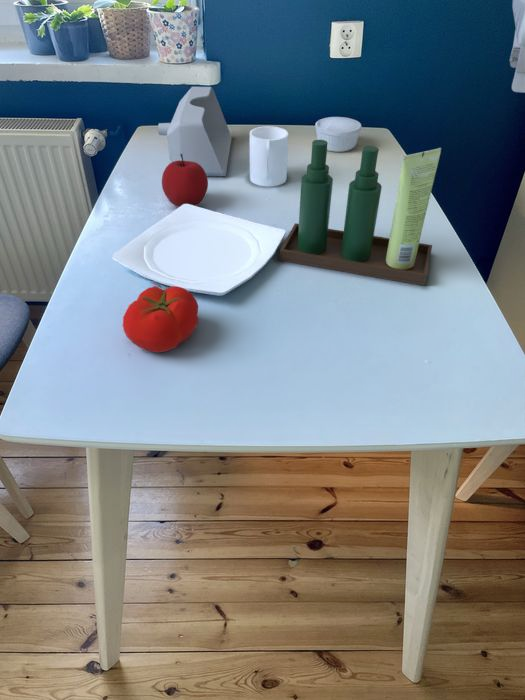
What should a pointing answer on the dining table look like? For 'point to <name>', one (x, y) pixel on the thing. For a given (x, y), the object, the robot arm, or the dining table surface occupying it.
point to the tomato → (161, 318)
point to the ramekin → (338, 133)
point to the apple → (184, 183)
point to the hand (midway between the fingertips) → (518, 77)
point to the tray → (368, 268)
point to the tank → (199, 132)
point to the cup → (268, 156)
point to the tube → (411, 207)
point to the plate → (201, 250)
